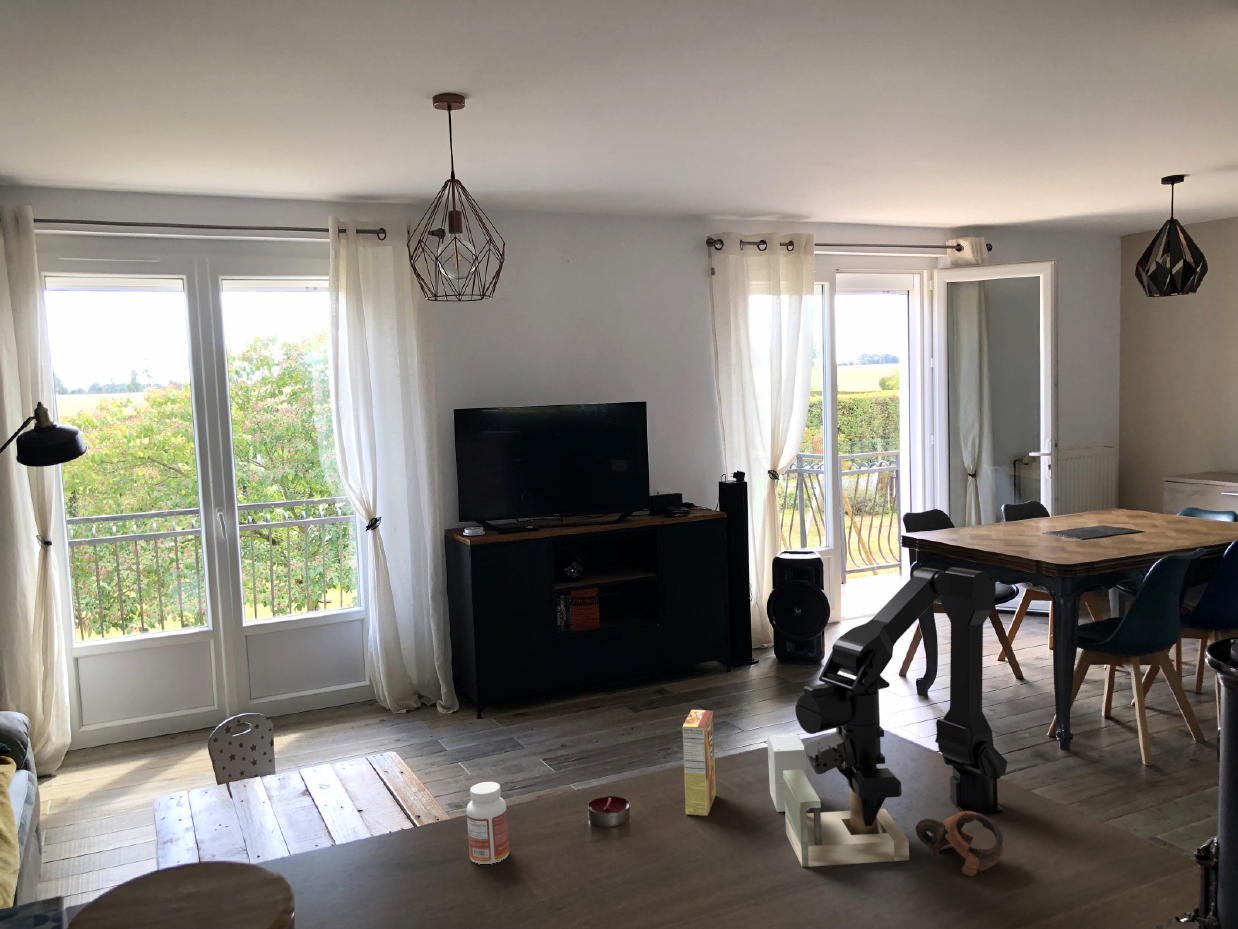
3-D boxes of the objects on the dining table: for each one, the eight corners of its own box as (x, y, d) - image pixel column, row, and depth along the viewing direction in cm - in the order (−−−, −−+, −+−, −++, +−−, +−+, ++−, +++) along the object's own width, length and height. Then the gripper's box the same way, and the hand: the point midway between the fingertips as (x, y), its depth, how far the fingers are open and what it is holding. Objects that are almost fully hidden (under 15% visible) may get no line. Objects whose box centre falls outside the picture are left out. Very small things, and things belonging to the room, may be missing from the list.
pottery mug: (987, 847, 141) (1005, 813, 136) (993, 903, 133) (1012, 868, 128) (907, 825, 142) (922, 790, 138) (908, 878, 135) (924, 843, 130)
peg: (872, 825, 144) (871, 781, 144) (880, 837, 140) (879, 792, 140) (847, 827, 144) (845, 783, 143) (854, 839, 140) (853, 794, 139)
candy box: (693, 793, 164) (689, 709, 163) (717, 795, 163) (713, 709, 162) (684, 815, 156) (680, 726, 155) (709, 817, 154) (706, 727, 154)
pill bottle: (504, 844, 148) (500, 776, 148) (513, 861, 142) (509, 791, 142) (466, 852, 146) (461, 783, 145) (473, 870, 140) (469, 798, 140)
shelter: (884, 825, 148) (882, 764, 148) (910, 861, 136) (908, 795, 136) (785, 831, 148) (782, 770, 147) (802, 868, 136) (800, 802, 135)
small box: (809, 811, 155) (807, 750, 154) (776, 813, 155) (773, 751, 154) (801, 792, 163) (798, 733, 162) (769, 793, 163) (767, 734, 162)
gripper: (794, 703, 150) (798, 797, 151) (823, 745, 131) (827, 851, 132) (862, 699, 150) (865, 793, 151) (901, 740, 132) (904, 846, 133)
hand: (863, 819), depth 142 cm, fingers closed on peg, 4 cm apart
